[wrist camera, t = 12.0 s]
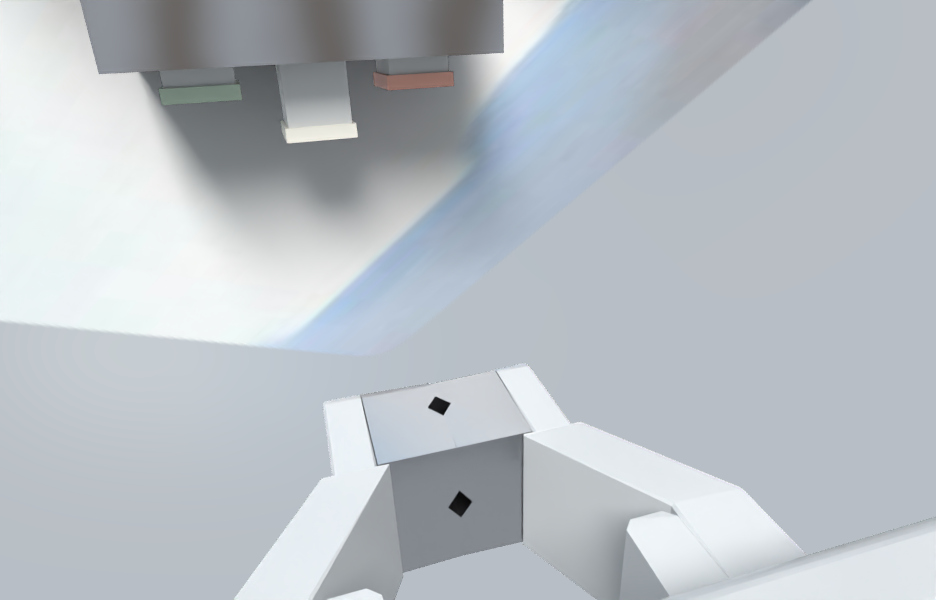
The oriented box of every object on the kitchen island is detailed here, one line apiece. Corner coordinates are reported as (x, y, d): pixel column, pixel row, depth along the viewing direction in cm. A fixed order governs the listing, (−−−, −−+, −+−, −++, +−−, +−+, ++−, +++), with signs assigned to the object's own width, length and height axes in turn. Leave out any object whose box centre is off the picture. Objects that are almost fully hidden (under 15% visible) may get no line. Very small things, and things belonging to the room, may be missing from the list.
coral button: (374, 85, 40) (387, 90, 36) (366, 1, 38) (380, -2, 34) (434, 81, 41) (453, 85, 37) (430, -1, 39) (450, -4, 35)
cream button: (282, 133, 39) (287, 143, 35) (270, 50, 37) (273, 52, 33) (346, 128, 40) (357, 137, 36) (338, 47, 38) (348, 48, 35)
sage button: (168, 98, 36) (161, 105, 33) (148, 6, 34) (139, 3, 31) (241, 93, 37) (242, 99, 34) (226, 4, 35) (225, 1, 32)
